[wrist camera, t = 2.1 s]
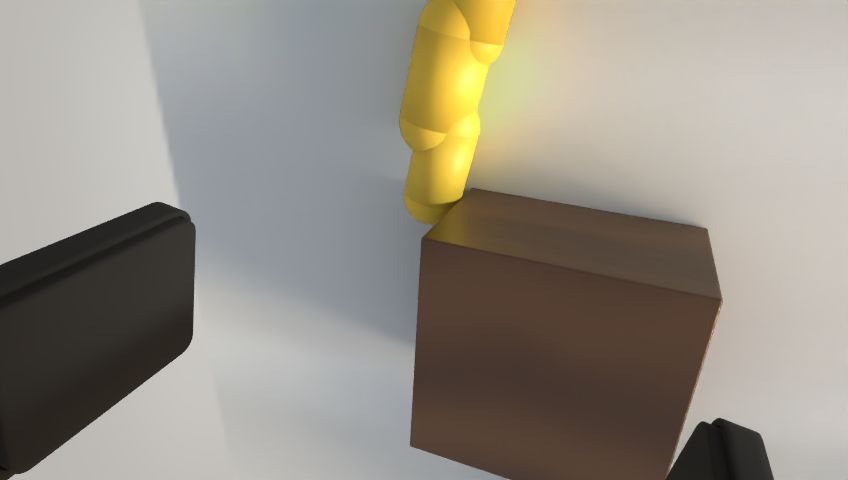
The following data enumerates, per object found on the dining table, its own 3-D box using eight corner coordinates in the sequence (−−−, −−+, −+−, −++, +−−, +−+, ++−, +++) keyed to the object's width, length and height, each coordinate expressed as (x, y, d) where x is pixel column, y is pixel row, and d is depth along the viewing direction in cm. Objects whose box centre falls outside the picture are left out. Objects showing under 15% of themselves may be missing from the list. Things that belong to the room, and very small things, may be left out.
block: (471, 187, 28) (420, 237, 22) (708, 228, 25) (724, 300, 19) (454, 365, 33) (409, 446, 27) (653, 420, 29) (651, 527, 23)
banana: (461, -104, 24) (432, -118, 21) (549, -84, 23) (533, -96, 20) (396, 195, 30) (368, 216, 27) (464, 220, 29) (442, 244, 26)
